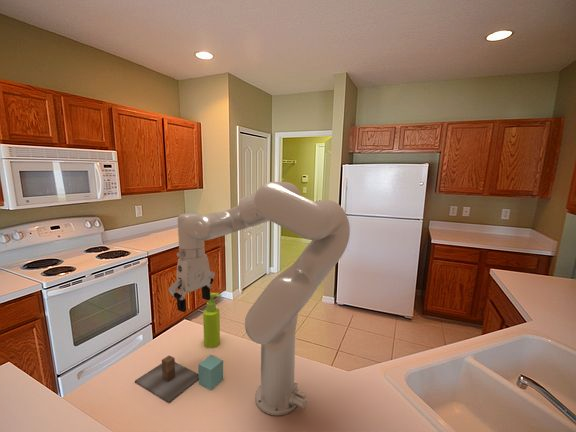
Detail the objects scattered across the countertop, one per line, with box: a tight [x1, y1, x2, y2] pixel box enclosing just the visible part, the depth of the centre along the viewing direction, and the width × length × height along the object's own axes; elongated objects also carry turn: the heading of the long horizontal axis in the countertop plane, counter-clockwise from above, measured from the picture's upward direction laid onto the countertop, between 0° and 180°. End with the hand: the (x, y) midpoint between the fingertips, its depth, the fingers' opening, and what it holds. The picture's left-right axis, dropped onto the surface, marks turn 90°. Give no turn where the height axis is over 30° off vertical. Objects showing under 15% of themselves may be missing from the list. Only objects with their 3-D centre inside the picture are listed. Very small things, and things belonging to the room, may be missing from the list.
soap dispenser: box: [202, 292, 222, 349], centre depth 103 cm, size 6×7×20 cm
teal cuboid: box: [197, 354, 224, 391], centre depth 84 cm, size 5×5×7 cm
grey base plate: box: [134, 355, 199, 404], centre depth 84 cm, size 16×12×7 cm
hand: (194, 304), depth 87 cm, fingers open, 9 cm apart
